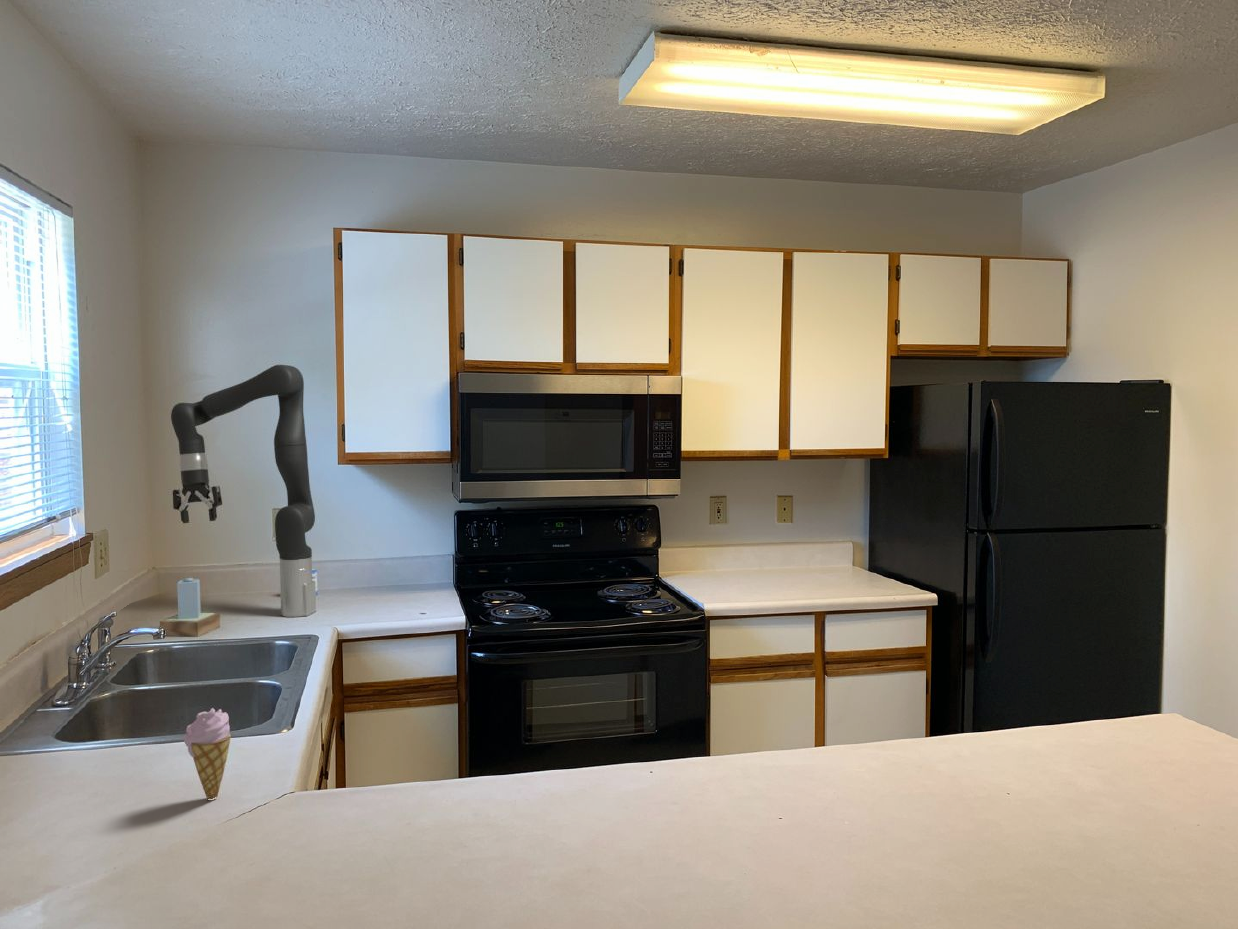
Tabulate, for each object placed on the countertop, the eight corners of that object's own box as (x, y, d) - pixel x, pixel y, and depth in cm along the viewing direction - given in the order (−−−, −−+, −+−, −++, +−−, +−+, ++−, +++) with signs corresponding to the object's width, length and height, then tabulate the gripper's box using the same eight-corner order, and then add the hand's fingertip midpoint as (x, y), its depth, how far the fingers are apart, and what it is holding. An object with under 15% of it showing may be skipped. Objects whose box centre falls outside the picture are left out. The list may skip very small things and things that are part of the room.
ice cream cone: (196, 812, 136) (193, 717, 135) (179, 800, 141) (176, 708, 140) (239, 798, 141) (236, 706, 140) (221, 787, 146) (218, 697, 145)
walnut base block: (220, 626, 253) (219, 612, 253) (197, 636, 242) (197, 621, 242) (184, 626, 254) (183, 611, 254) (160, 635, 243) (159, 620, 243)
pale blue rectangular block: (200, 614, 251) (199, 576, 250) (198, 618, 246) (197, 579, 246) (181, 615, 250) (180, 577, 249) (178, 619, 245) (177, 580, 244)
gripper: (164, 471, 265) (169, 525, 265) (209, 467, 263) (215, 521, 264) (179, 470, 272) (184, 522, 273) (223, 466, 271) (228, 519, 271)
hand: (199, 522), depth 268 cm, fingers open, 8 cm apart
